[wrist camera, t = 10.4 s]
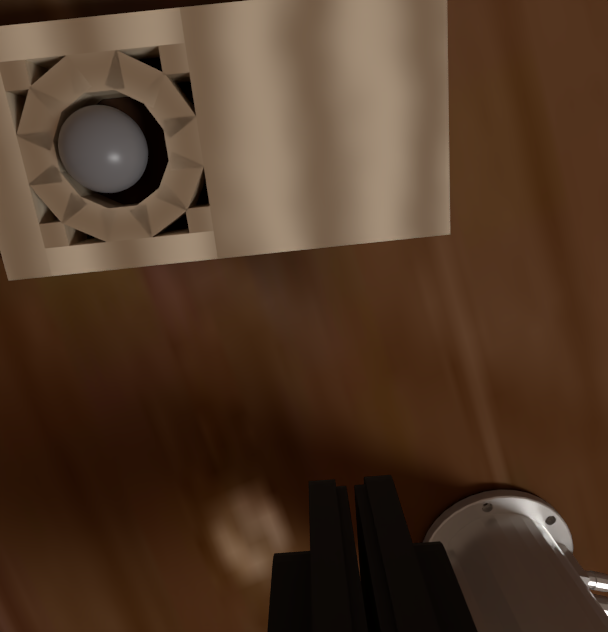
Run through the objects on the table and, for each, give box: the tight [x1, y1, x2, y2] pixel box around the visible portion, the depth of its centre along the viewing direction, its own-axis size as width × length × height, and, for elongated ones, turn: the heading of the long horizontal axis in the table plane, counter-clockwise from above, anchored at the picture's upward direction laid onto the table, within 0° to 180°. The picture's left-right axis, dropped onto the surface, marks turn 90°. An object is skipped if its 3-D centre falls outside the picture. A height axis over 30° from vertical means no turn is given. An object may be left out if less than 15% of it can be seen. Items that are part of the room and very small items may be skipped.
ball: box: [58, 105, 148, 193], centre depth 30 cm, size 5×5×5 cm
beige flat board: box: [0, 0, 450, 281], centre depth 31 cm, size 28×14×3 cm, turn 96°
